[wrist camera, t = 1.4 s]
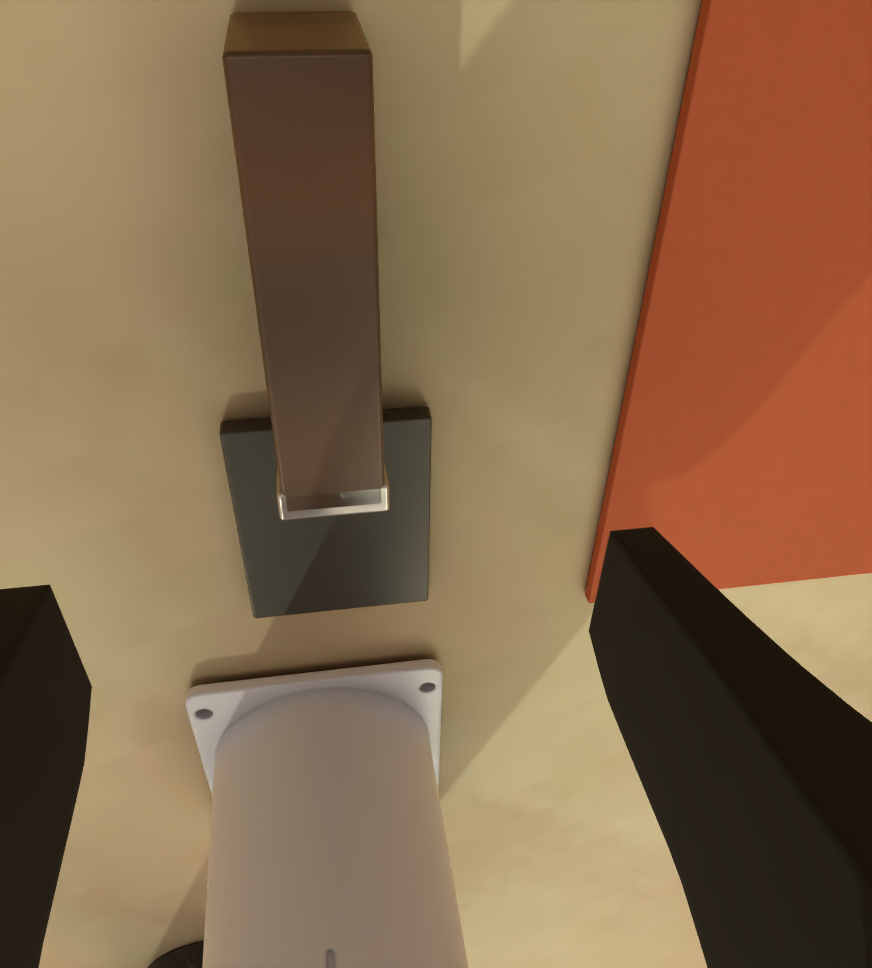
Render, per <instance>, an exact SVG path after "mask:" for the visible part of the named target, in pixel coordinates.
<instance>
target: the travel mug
mask: <svg viewBox="0 0 872 968" xmlns="http://www.w3.org/2000/svg"><path fill="white" fill-rule="evenodd" d="M203 949H204V942H201V943H196V944H192V945H189V946H186V947H183V948H180V949H177V950H175V951H172V952H170V953H168V954H166V955H164V956H162V957H161V958H159V959H158V960H156V961H155V962H154V963H153V964H152V965H151V966H150V967H149V968H202V967H203Z"/></svg>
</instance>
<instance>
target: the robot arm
mask: <svg viewBox="0 0 872 968" xmlns="http://www.w3.org/2000/svg"><path fill="white" fill-rule="evenodd" d="M589 633H590V637H591V641H592V644H593V648H594V652H595V656H596V660H597V664H598V667H599V671H600V674H601V678H602V681H603V685H604V688H605V692H606V695H607V699H608V701H609V704H610V706H611V709H612V711H613V714H614V716H615V719H616V721H617V724H618V726H619V729H620V731H621V734H622V736H623V739H624V741H625V743H626V746H627V748H628V751H629V753H630V756H631V758H632V760H633V763H634V765H635V768H636V770H637V773H638V775H639V777H640V780H641V782H642V785H643V787H644V789H645V792H646V794H647V797H648V799H649V801H650V804H651V806H652V809H653V811H654V813H655V816H656V818H657V821H658V823H659V826H660V828H661V830H662V833H663V835H664V838H665V840H666V842H667V845H668V847H669V850H670V852H671V855H672V858H673V861H674V863H675V866H676V869H677V871H678V874H679V877H680V880H681V882H682V885H683V889H684V892H685V895H686V898H687V902H688V905H689V908H690V911H691V915H692V918H693V921H694V924H695V928H696V931H697V934H698V937H699V941H700V944H701V947H702V950H703V954H704V957H705V960H706V964H707V967H708V968H872V722H870V721H869V720H868V719H866V718H865V717H864V716H863V715H861V714H860V713H859V712H857V711H856V710H855V709H854V708H852V707H851V706H850V705H848V704H847V703H846V702H845V701H843V700H842V699H841V698H840V697H839V696H837V695H836V694H835V693H834V692H833V691H831V690H830V689H829V688H828V687H826V686H825V685H824V684H823V683H822V682H820V681H819V680H818V679H817V678H816V677H814V676H813V675H812V674H811V673H809V672H808V671H807V670H806V669H805V668H803V667H802V666H801V665H800V664H799V663H798V662H796V661H795V660H794V659H793V658H792V657H791V656H790V655H788V654H787V653H786V652H785V651H784V650H783V649H782V648H781V647H779V646H778V645H777V644H776V643H775V642H774V641H773V640H772V639H771V638H770V637H768V636H767V635H766V634H765V633H764V632H763V631H762V630H761V629H760V628H759V627H757V626H756V625H755V624H754V623H753V622H752V621H751V620H750V619H749V618H747V617H746V616H745V615H744V614H743V613H742V612H741V611H740V610H739V609H738V608H737V607H736V606H735V605H734V604H733V603H732V602H730V601H729V600H728V599H727V598H726V597H725V596H724V595H723V594H722V593H721V592H720V591H719V590H718V589H717V588H716V587H715V586H714V585H713V584H712V583H711V582H710V581H709V580H708V579H707V578H706V577H704V576H703V575H702V574H701V573H700V572H699V571H698V570H697V569H696V568H695V567H694V566H693V565H692V564H691V563H690V562H689V561H688V560H687V559H686V558H685V557H684V556H683V555H682V554H681V553H680V552H679V551H678V550H677V549H676V548H675V547H674V546H673V545H672V544H671V543H670V542H668V541H667V540H666V539H665V538H664V537H663V536H662V535H661V534H660V533H659V532H658V531H657V530H656V529H655V528H654V527H646V528H635V529H625V530H615V531H610V533H609V538H608V543H607V547H606V552H605V557H604V562H603V566H602V571H601V576H600V580H599V585H598V590H597V595H596V599H595V604H594V609H593V614H592V618H591V623H590V628H589ZM442 684H443V673H442V668H441V664H440V663H439V662H438V661H435V660H432V659H422V660H414V661H405V662H396V663H387V664H378V665H370V666H361V667H352V668H343V669H334V670H326V671H317V672H308V673H299V674H291V675H282V676H273V677H264V678H255V679H247V680H238V681H229V682H220V683H212V684H203V685H197V686H194V687H192V688H190V689H189V690H188V691H187V692H186V697H185V707H186V710H187V714H188V717H189V720H190V724H191V727H192V731H193V734H194V737H195V741H196V744H197V747H198V751H199V754H200V757H201V761H202V764H203V767H204V771H205V774H206V778H207V781H208V784H209V788H210V791H211V794H212V811H211V828H210V846H209V863H208V880H207V897H206V915H205V932H204V949H203V967H202V968H468V963H467V958H466V952H465V946H464V940H463V934H462V928H461V922H460V917H459V911H458V905H457V899H456V893H455V887H454V881H453V875H452V870H451V864H450V858H449V852H448V846H447V840H446V834H445V829H444V823H443V817H442V811H441V805H440V799H439V793H438V788H439V762H440V736H441V710H442ZM91 689H92V686H91V683H90V681H89V679H88V676H87V674H86V671H85V669H84V666H83V664H82V662H81V659H80V657H79V654H78V652H77V649H76V647H75V645H74V642H73V640H72V637H71V635H70V632H69V630H68V628H67V625H66V623H65V620H64V618H63V615H62V613H61V610H60V608H59V606H58V603H57V601H56V598H55V596H54V593H53V591H52V589H51V586H50V585H41V586H31V587H20V588H10V589H0V968H38V967H39V962H40V957H41V951H42V946H43V941H44V937H45V933H46V928H47V924H48V920H49V915H50V911H51V907H52V902H53V898H54V894H55V890H56V885H57V881H58V877H59V872H60V868H61V864H62V859H63V855H64V851H65V846H66V842H67V838H68V834H69V829H70V825H71V820H72V816H73V812H74V807H75V803H76V798H77V794H78V789H79V785H80V780H81V776H82V771H83V766H84V760H85V751H86V742H87V733H88V723H89V712H90V700H91Z"/></svg>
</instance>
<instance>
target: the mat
mask: <svg viewBox="0 0 872 968" xmlns="http://www.w3.org/2000/svg"><path fill="white" fill-rule="evenodd" d="M646 527H654V528H655V529H656V530H657V531H658V532H659V533H660V534H661V535H662V536H663V537H664V538H665V539H666V540H667V541H668V542H670V543H671V544H672V545H673V546H674V547H675V548H676V549H677V550H678V551H679V552H680V553H681V554H682V555H683V556H684V557H685V558H686V559H687V560H688V561H689V562H690V563H691V564H692V565H693V566H694V567H695V568H696V569H697V570H698V571H699V572H700V573H701V574H702V575H703V576H704V577H706V578H707V579H708V580H709V581H710V582H711V583H712V584H713V585H714V586H715V587H716V588H717V589H724V588H734V587H743V586H752V585H761V584H771V583H780V582H789V581H799V580H808V579H817V578H827V577H836V576H845V575H854V574H864V573H872V0H702V5H701V10H700V15H699V20H698V25H697V30H696V35H695V40H694V45H693V50H692V55H691V60H690V65H689V70H688V76H687V81H686V86H685V91H684V96H683V101H682V106H681V111H680V116H679V121H678V126H677V131H676V136H675V141H674V146H673V152H672V157H671V162H670V167H669V172H668V177H667V182H666V187H665V192H664V197H663V202H662V207H661V212H660V217H659V222H658V227H657V233H656V238H655V243H654V248H653V253H652V258H651V263H650V268H649V273H648V278H647V283H646V288H645V293H644V298H643V303H642V308H641V314H640V319H639V324H638V329H637V334H636V339H635V344H634V349H633V354H632V359H631V364H630V369H629V374H628V379H627V384H626V389H625V395H624V400H623V405H622V410H621V415H620V420H619V425H618V430H617V435H616V440H615V445H614V450H613V455H612V460H611V465H610V471H609V476H608V481H607V486H606V491H605V496H604V501H603V506H602V511H601V516H600V521H599V526H598V531H597V536H596V541H595V546H594V552H593V557H592V562H591V567H590V572H589V577H588V582H587V587H586V592H585V595H586V598H587V600H588V603H594V602H595V599H596V595H597V590H598V585H599V580H600V576H601V571H602V566H603V562H604V557H605V552H606V547H607V543H608V538H609V533H610V531H615V530H625V529H635V528H646Z"/></svg>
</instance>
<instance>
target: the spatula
mask: <svg viewBox="0 0 872 968" xmlns="http://www.w3.org/2000/svg"><path fill="white" fill-rule="evenodd" d="M222 58H223V66H224V73H225V81H226V88H227V96H228V103H229V110H230V118H231V125H232V133H233V140H234V148H235V155H236V162H237V170H238V177H239V185H240V192H241V200H242V207H243V214H244V222H245V229H246V237H247V244H248V251H249V259H250V266H251V274H252V281H253V289H254V296H255V303H256V311H257V318H258V326H259V333H260V341H261V348H262V355H263V363H264V370H265V378H266V385H267V393H268V400H269V407H270V415H271V418H269V419H255V420H241V421H227V422H221V424H220V439H221V444H222V449H223V455H224V460H225V465H226V471H227V476H228V482H229V487H230V492H231V498H232V503H233V508H234V514H235V519H236V525H237V530H238V535H239V541H240V546H241V551H242V557H243V562H244V567H245V573H246V578H247V584H248V589H249V594H250V600H251V605H252V610H253V616H254V618H263V617H272V616H282V615H291V614H301V613H311V612H320V611H330V610H339V609H349V608H358V607H368V606H378V605H387V604H397V603H406V602H416V601H426V600H428V584H429V529H430V474H431V414H430V410H429V408H428V407H419V408H405V409H392V410H382V378H381V343H380V307H379V272H378V237H377V202H376V166H375V131H374V96H373V61H372V53H371V50H370V48H369V46H368V43H367V41H366V38H365V36H364V33H363V31H362V28H361V26H360V24H359V21H358V19H357V16H356V14H355V13H353V12H283V13H233V14H231V15H230V19H229V25H228V30H227V35H226V41H225V46H224V51H223V57H222Z"/></svg>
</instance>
